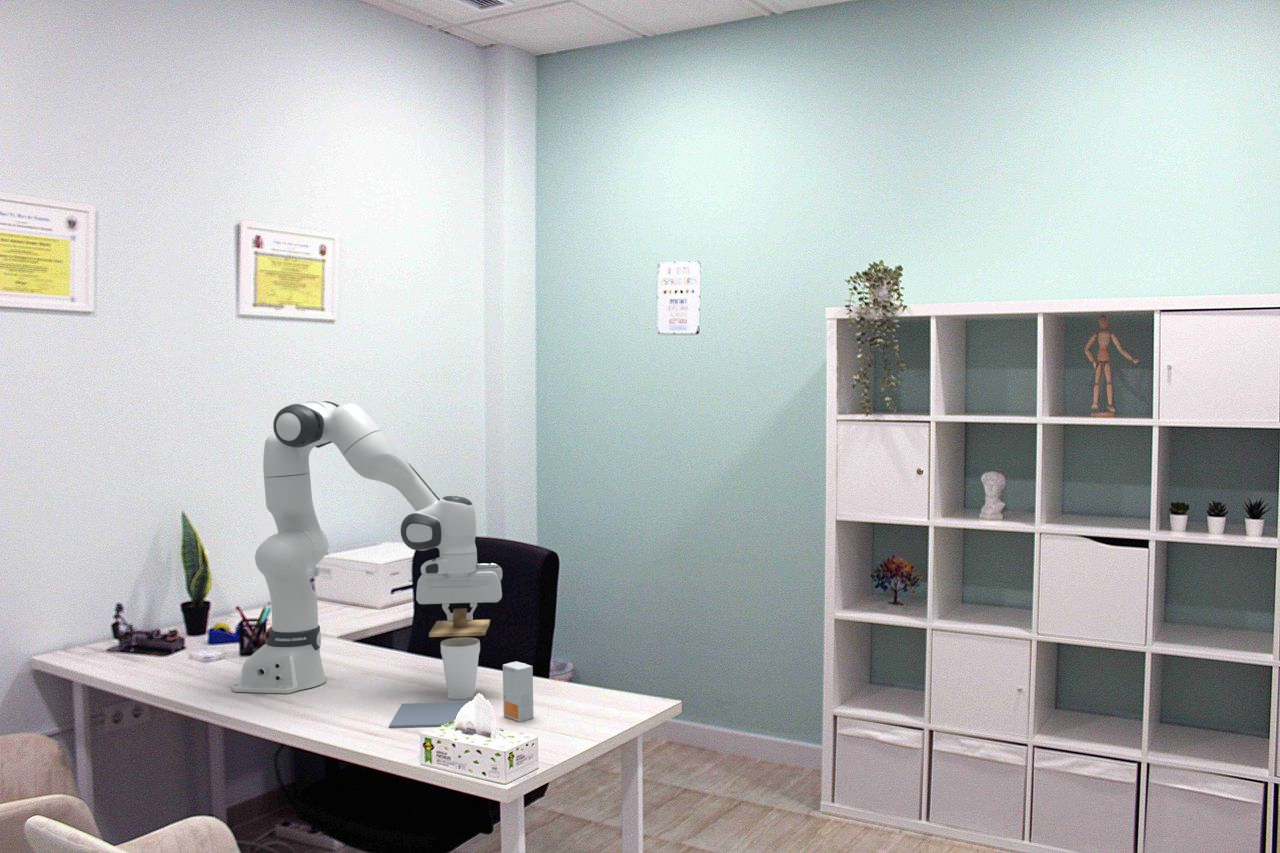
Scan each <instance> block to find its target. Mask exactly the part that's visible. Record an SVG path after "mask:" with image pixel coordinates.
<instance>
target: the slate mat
mask: <svg viewBox="0 0 1280 853" xmlns="http://www.w3.org/2000/svg"><path fill="white" fill-rule="evenodd" d="M468 702H469V701H454V702H453V701H450V702H446V701H445V702H443V701H442V702H412V703H411V702H408V703H407V702H404V703H401V704H400V706H399V707H398V710H397V711H396V713H395V715H394V716H393V717H392V720H391V722H390V723H389V725H388V728H389V729H395V728H396V729H398V728H399V729H400V728H401V729H402V728H405V729H407V728H434V727H435V728H438V727H439V726H441V725H444V724H447V723H450V722H453V721H454V720H455V719H456V716H457V714H458V712H459V711H460V709H461V708H462V707H463V706H464V705H465V704H466V703H468Z"/></svg>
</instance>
